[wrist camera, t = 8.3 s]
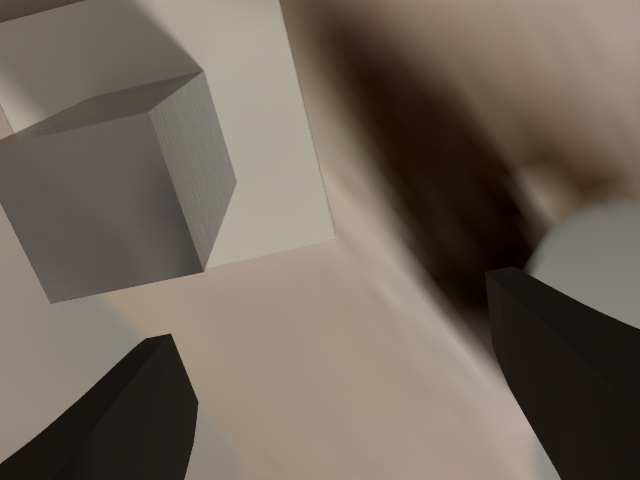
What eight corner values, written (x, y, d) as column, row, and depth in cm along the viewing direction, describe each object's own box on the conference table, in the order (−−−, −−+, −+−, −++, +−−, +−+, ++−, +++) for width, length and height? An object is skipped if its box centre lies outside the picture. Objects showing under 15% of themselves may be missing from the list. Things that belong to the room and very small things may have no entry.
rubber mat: (268, -46, 17) (266, -48, 17) (335, 233, 21) (336, 239, 21) (-24, 30, 18) (-34, 31, 17) (96, 286, 22) (90, 294, 21)
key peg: (203, 70, 18) (148, 112, 12) (237, 182, 20) (204, 272, 13) (90, 97, 18) (-25, 152, 12) (132, 204, 20) (51, 303, 14)
